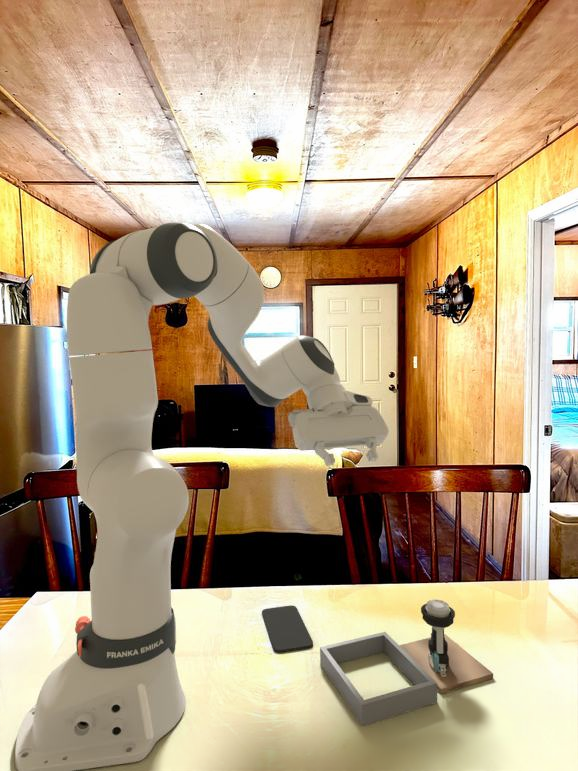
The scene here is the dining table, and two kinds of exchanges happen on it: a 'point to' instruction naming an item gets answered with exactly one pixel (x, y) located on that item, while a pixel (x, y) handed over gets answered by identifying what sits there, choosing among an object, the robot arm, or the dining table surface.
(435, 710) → the dining table surface
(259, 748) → the dining table surface
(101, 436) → the robot arm
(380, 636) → the gray rectangular frame
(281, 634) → the phone
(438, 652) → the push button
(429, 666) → the walnut board
